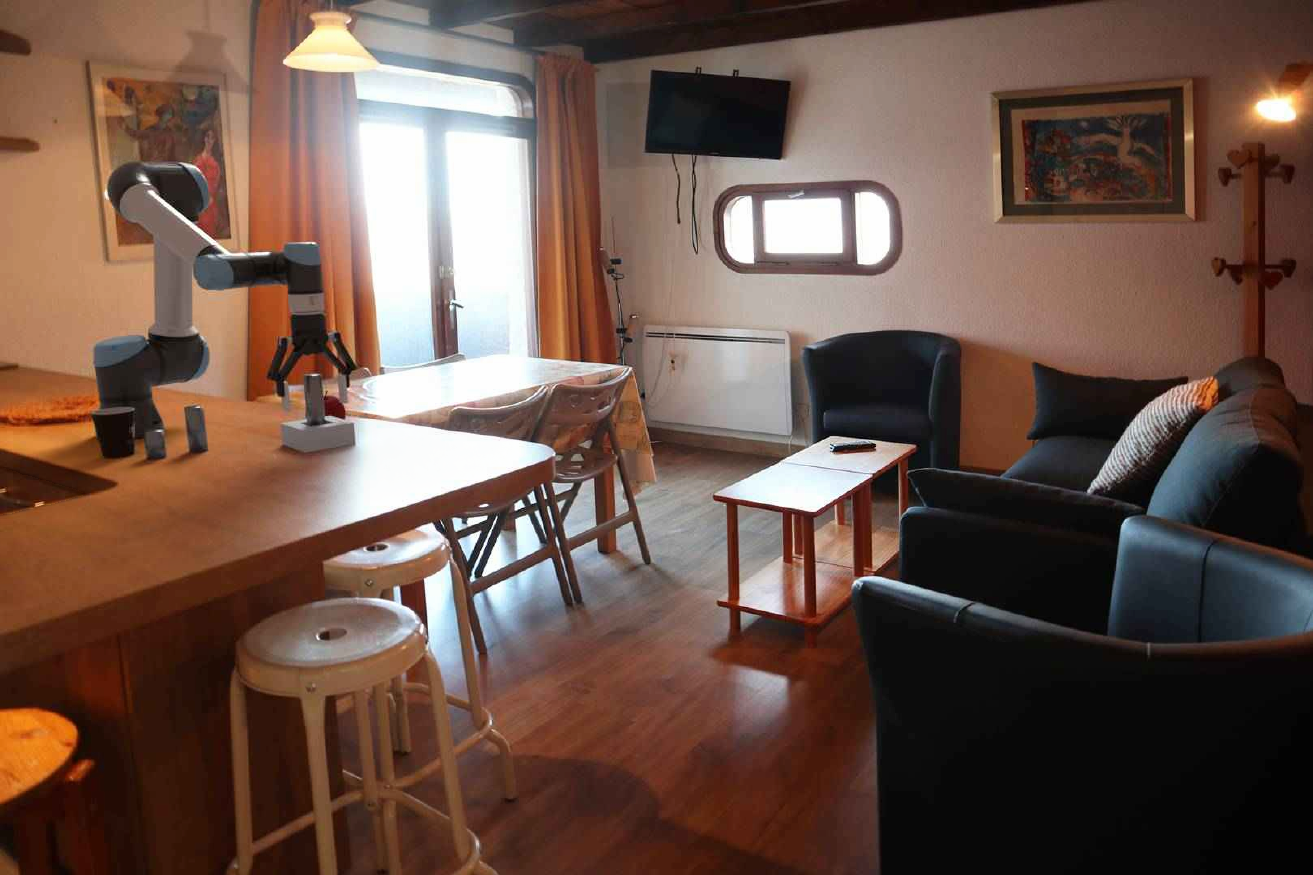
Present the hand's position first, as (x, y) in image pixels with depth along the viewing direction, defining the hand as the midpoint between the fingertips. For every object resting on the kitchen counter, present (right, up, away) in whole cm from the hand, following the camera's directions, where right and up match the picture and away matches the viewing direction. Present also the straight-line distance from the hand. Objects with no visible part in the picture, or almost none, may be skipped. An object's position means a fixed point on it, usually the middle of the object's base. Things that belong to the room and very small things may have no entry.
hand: (315, 406), depth 244 cm
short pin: (-32, -11, -8) cm, 35 cm away
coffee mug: (-42, -11, -3) cm, 43 cm away
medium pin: (-26, -10, -2) cm, 27 cm away
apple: (-3, -6, +17) cm, 18 cm away
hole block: (0, -8, +2) cm, 9 cm away
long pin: (0, -9, +2) cm, 9 cm away
